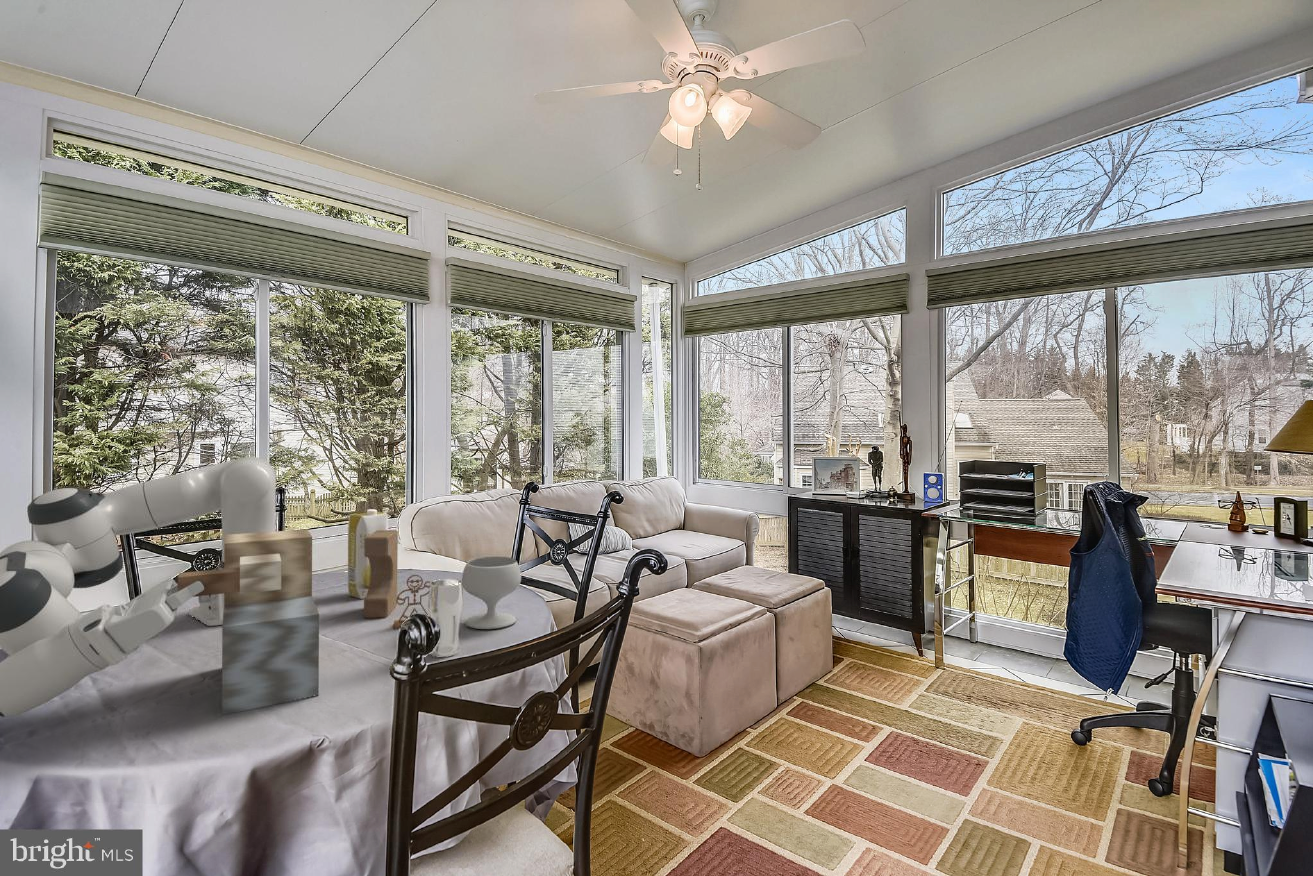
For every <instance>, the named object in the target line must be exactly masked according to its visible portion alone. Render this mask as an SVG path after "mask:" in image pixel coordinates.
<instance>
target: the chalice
mask: <svg viewBox="0 0 1313 876" xmlns="http://www.w3.org/2000/svg"><path fill="white" fill-rule="evenodd" d="M461 576H462V577H461V580H462V587H463V589H464V591H465V592H466V593H467V594H470V595H471V596H474V597H476V598H477V599H480V600H481V601H482V602H483V603H485V605H486V607H487V610H486V612H485V613H481V614H480V613H479V614H476V615H473V616H470V617H469V618H467V620H465V625H466V626H467V627H469V628H471V629H477V630H494V629H501V628H506V627H509V626H512V625H514V624H515V623H516V622H517V620H518V619H517V617H515V615H513V614H510V613H504V612H496V606H497V604H498V603H499V602H500V600H502V599H503V598H505V597H507V596H509V595H510V594H512V593H513V592H515V591H516V590H517V589H518V588H519V587H520V585H521V581H522V573H521V569H520V565H519V563H518V561H517V560H516V558H513V557H509V556H508V557H507V556H483V557H475V558H472V559H470V560H468V561H467V563H466V564H465V566H464V568H463V571H462V575H461Z"/></svg>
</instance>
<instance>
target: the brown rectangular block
mask: <svg viewBox="0 0 1313 876" xmlns="http://www.w3.org/2000/svg"><path fill="white" fill-rule="evenodd" d="M196 580H200V581H201V582H202V583H203V585H204V590H203V591H201V592H200V593H198V594H196V595H195V596H193V597H192V598H195V597H199V596H206V595H215V594H223V593H232V592H240V594H245V593H253V592H262V591H271V590H280V589H281V558H280V554H269V555H257V556H246V557H240V567H238V568H227V569H218V568H217V569H210V570H209V569H208V570H207V569H206V570H197V571H187V572H179V574H178V576H177V584H178V591H180V590H182V589H183V588H185V587H187V586H188V585H189V584H191V583H193V582H195V581H196Z"/></svg>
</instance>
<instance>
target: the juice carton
mask: <svg viewBox="0 0 1313 876" xmlns="http://www.w3.org/2000/svg"><path fill="white" fill-rule="evenodd" d="M347 526H348V527H347V589H348V590H347V591H348V594H349V596H350V597H353V598H357V599H359V600H360V599H361V600H364V599H365V598H366V596H367V593H368V589H369V583H370V563H369V559H368V557H365V556H364V543H365V538H366V537H368V536H369V535H371V534H372V533H374V532H375V531H377V530H389V517H388V513H386V512H382V511H378V510H377V509H375V508H373V509H372V508H371V509H370V508H369V509H367V510H366V513H351V514H349V516H348V525H347Z"/></svg>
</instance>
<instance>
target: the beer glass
mask: <svg viewBox="0 0 1313 876" xmlns="http://www.w3.org/2000/svg"><path fill="white" fill-rule="evenodd" d="M429 586H430V588H428V589H429V590H428V591H429V593H428V600H427V601H428V603H427V604H428V607H427V609H428V615H429V617H431V618H433V619H435V620H436V622H438V624H439V626H440V628H441V630H442V635H441V636H440V642H439V643H438V645H437V647H436V649H435V651H433V653H431V654H430V653H429V654H430V656H431V655H432V656H431V657H433V658H436V657H435V656H441V657H444V655H446V654H453V653H458V652H459V651H460V652H461V646H460V645H461V644H460V639H459V637H460V636H459V635H460V633H459V631H460V626H461V625H460V624H461V621H462V614H463V610H464V609H463V608H464V590H463V589H464V588H463V585H462V579H459V578H454V577H453V578H452V577H450V578H438V579H434V580H432V581H431V582H430V583H429ZM460 652H459V653H460ZM459 653H458V654H459ZM444 658H445V657H444Z"/></svg>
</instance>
